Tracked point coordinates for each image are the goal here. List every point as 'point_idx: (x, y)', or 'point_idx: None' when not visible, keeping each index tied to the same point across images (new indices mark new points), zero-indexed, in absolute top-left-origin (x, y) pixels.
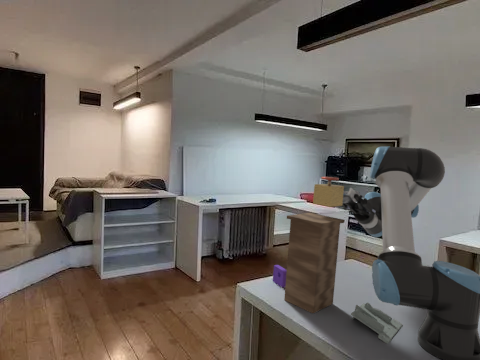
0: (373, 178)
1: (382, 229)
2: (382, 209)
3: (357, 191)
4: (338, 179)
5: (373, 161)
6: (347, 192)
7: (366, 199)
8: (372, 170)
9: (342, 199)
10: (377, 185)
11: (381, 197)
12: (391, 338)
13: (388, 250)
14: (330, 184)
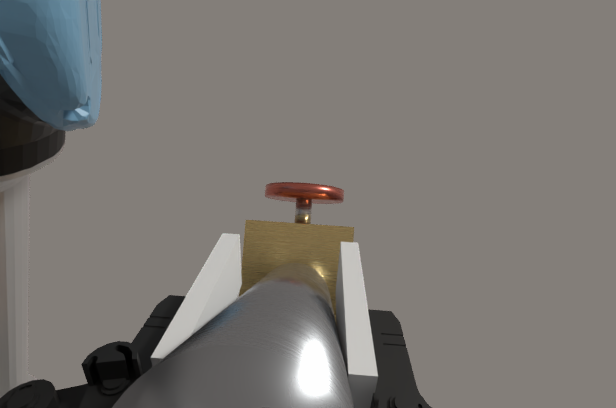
0: (67, 129)
1: (26, 360)
2: (28, 289)
3: (191, 346)
4: (266, 190)
5: (93, 5)
6: (259, 282)
7: (6, 402)
8: (100, 96)
9: (240, 294)
10: (26, 175)
11: (28, 241)
12: None
13: (30, 374)
14: (295, 220)
